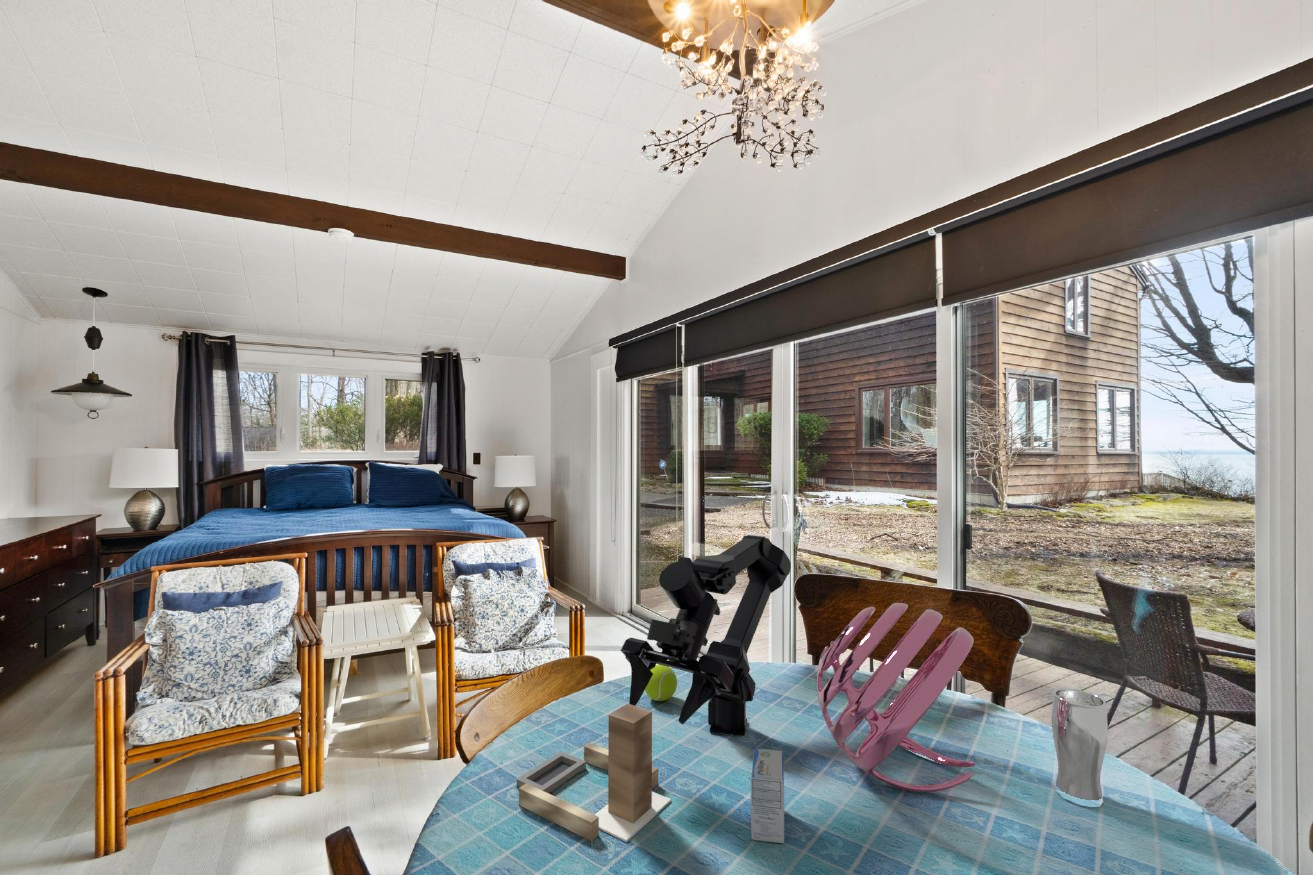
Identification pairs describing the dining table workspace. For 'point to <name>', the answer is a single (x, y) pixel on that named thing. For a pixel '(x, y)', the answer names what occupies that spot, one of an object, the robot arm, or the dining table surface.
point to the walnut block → (630, 762)
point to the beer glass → (1079, 741)
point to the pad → (625, 828)
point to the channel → (565, 811)
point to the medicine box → (767, 796)
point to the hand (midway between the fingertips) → (655, 714)
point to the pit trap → (553, 772)
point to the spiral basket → (908, 703)
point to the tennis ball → (661, 683)
